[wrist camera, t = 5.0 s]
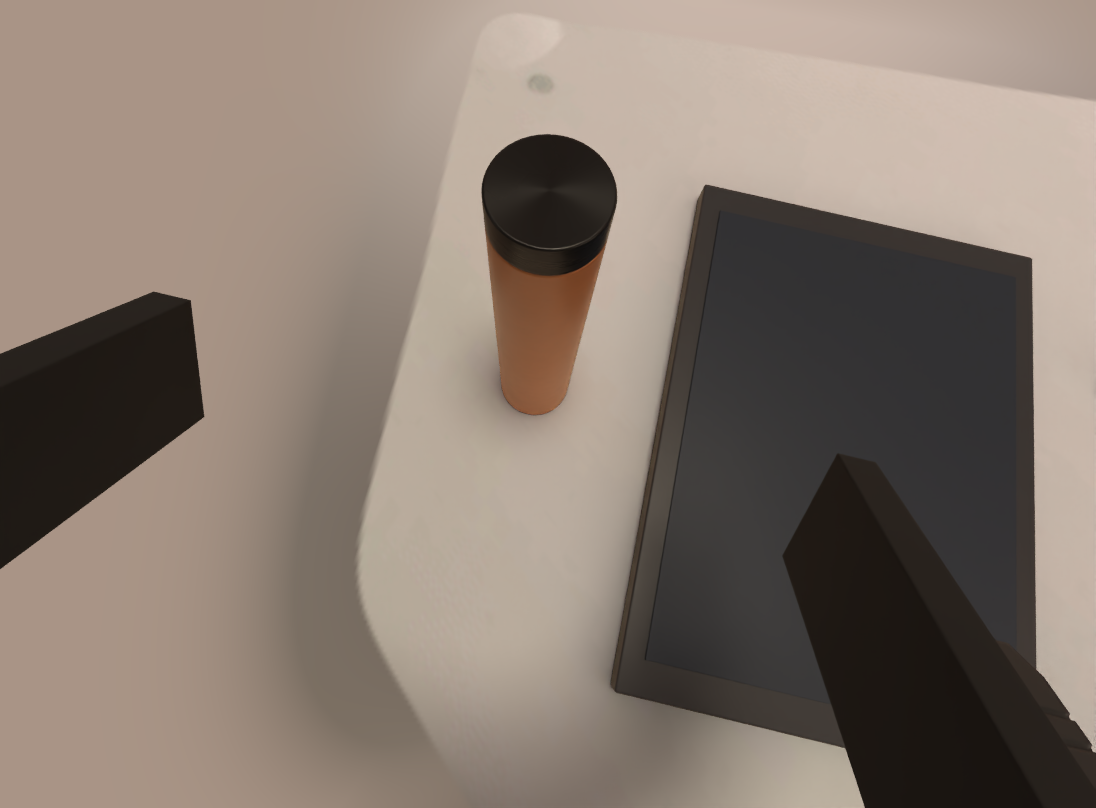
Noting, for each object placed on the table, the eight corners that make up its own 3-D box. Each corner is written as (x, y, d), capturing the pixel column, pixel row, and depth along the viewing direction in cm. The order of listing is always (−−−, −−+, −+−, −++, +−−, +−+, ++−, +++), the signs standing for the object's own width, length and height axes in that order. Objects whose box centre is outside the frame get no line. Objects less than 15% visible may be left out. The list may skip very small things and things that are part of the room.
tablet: (609, 686, 20) (614, 693, 19) (698, 198, 25) (705, 181, 24) (1013, 783, 19) (1041, 796, 18) (1013, 269, 25) (1035, 256, 24)
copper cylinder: (494, 406, 22) (465, 232, 11) (510, 345, 23) (500, 120, 11) (559, 421, 22) (602, 264, 11) (573, 360, 23) (628, 149, 11)
